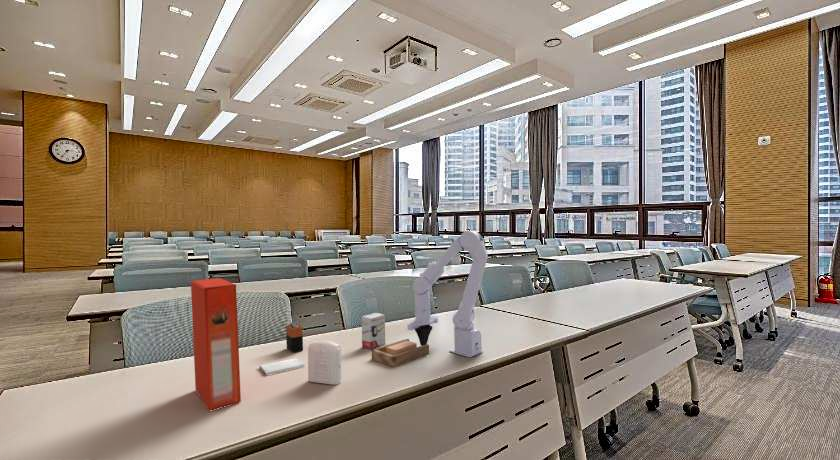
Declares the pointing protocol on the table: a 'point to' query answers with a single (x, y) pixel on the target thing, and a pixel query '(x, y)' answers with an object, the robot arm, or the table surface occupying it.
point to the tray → (394, 360)
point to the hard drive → (281, 366)
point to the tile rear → (409, 345)
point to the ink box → (373, 330)
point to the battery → (294, 337)
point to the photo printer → (324, 362)
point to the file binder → (216, 342)
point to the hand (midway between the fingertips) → (423, 345)
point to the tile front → (396, 349)
